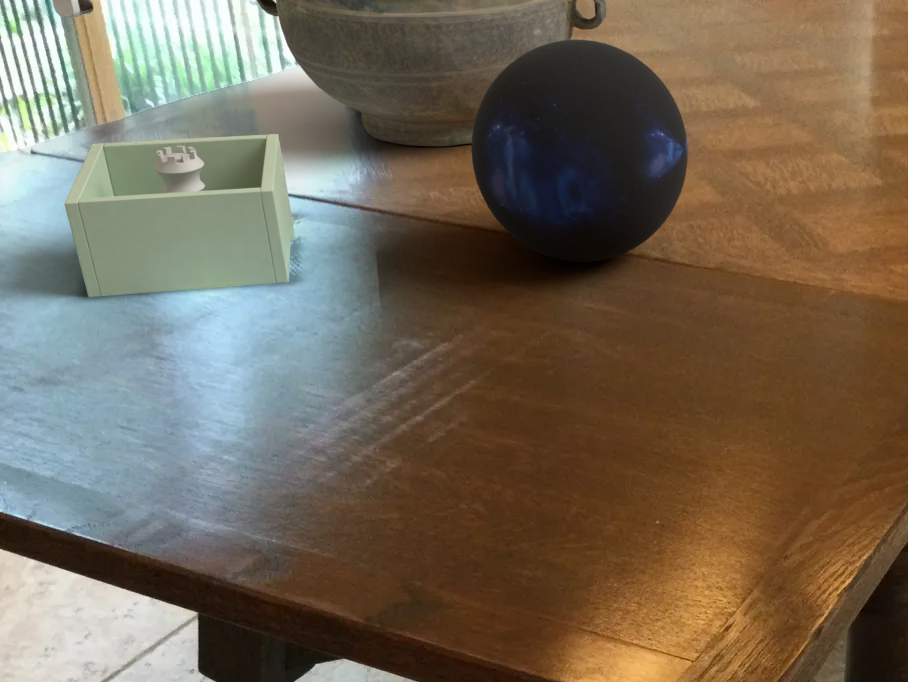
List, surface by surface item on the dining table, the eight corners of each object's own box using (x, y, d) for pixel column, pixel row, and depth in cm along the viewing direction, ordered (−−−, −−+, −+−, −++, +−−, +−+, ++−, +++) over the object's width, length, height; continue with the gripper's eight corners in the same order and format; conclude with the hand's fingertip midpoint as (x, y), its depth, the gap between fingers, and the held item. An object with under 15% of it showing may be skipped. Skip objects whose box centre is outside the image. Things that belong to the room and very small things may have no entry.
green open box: (92, 315, 88) (63, 203, 84) (116, 246, 99) (91, 143, 94) (291, 300, 91) (273, 190, 87) (294, 234, 101) (278, 133, 97)
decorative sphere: (459, 290, 93) (437, 67, 85) (504, 215, 105) (489, 14, 97) (677, 299, 92) (676, 75, 84) (695, 223, 105) (697, 21, 96)
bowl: (213, 155, 116) (178, -29, 108) (329, 78, 138) (307, -80, 130) (577, 179, 113) (569, -10, 105) (637, 96, 135) (634, -66, 126)
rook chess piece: (156, 261, 95) (131, 148, 90) (219, 248, 97) (197, 137, 93) (178, 281, 92) (152, 166, 87) (242, 267, 94) (220, 153, 90)
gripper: (197, -260, 86) (232, -30, 94) (-111, -250, 71) (-39, 22, 79) (267, -254, 84) (298, -18, 91) (-37, -243, 69) (30, 38, 76)
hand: (139, 1), depth 85 cm, fingers open, 8 cm apart
